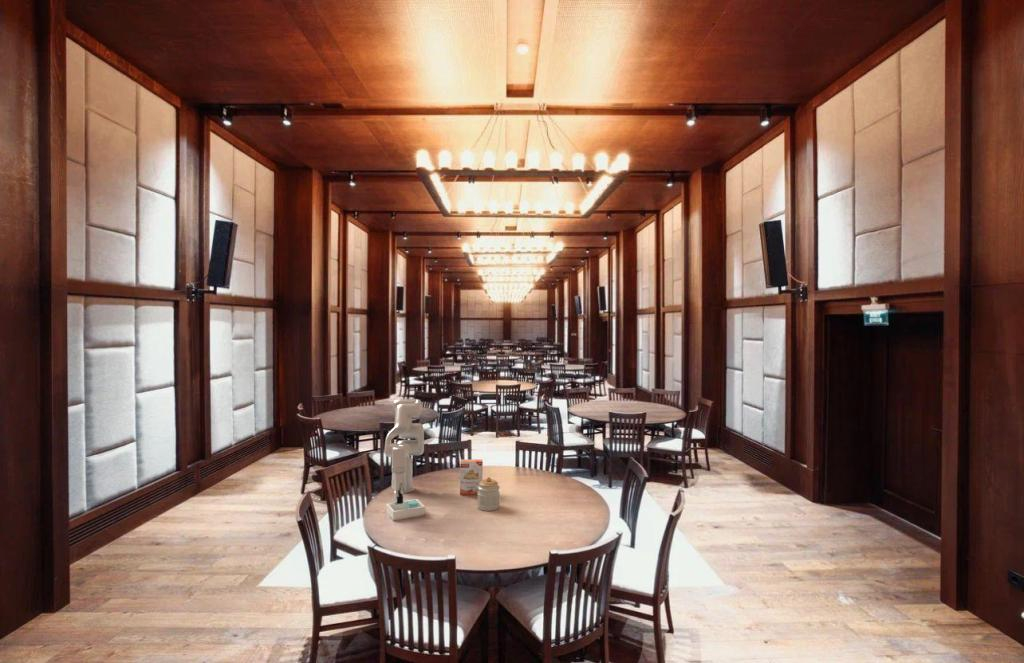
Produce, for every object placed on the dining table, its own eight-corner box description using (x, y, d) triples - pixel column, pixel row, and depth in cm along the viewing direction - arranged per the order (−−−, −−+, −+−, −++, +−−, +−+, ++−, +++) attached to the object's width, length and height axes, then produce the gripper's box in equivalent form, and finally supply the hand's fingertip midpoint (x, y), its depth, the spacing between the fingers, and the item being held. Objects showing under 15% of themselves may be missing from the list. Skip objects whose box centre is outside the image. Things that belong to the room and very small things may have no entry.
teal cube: (406, 510, 300) (406, 501, 300) (415, 508, 302) (415, 500, 302) (409, 513, 295) (409, 504, 295) (418, 511, 298) (418, 502, 298)
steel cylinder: (392, 502, 296) (392, 490, 295) (401, 501, 298) (401, 488, 298) (395, 505, 291) (395, 492, 291) (404, 503, 294) (404, 491, 293)
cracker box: (459, 495, 330) (460, 461, 329) (459, 492, 336) (460, 459, 335) (482, 494, 331) (482, 461, 330) (482, 491, 337) (482, 458, 336)
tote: (386, 512, 299) (386, 503, 299) (417, 507, 307) (417, 498, 307) (393, 521, 286) (393, 511, 286) (425, 515, 295) (425, 506, 295)
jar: (473, 509, 306) (473, 478, 305) (483, 502, 318) (484, 472, 317) (493, 512, 300) (493, 481, 300) (503, 505, 312) (503, 475, 312)
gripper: (387, 466, 300) (387, 498, 300) (396, 473, 285) (396, 507, 285) (400, 464, 304) (400, 496, 304) (409, 472, 289) (409, 505, 289)
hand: (398, 501), depth 295 cm, fingers closed on steel cylinder, 4 cm apart
